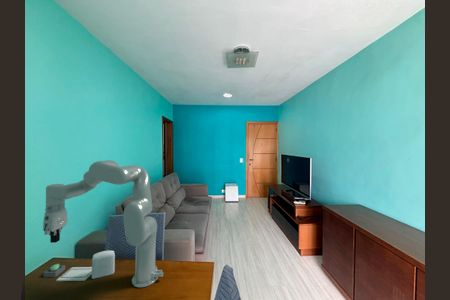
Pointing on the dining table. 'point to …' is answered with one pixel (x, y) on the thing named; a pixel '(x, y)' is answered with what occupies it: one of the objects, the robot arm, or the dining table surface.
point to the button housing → (54, 274)
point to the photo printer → (103, 264)
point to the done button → (54, 267)
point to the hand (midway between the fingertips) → (55, 241)
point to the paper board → (76, 274)
